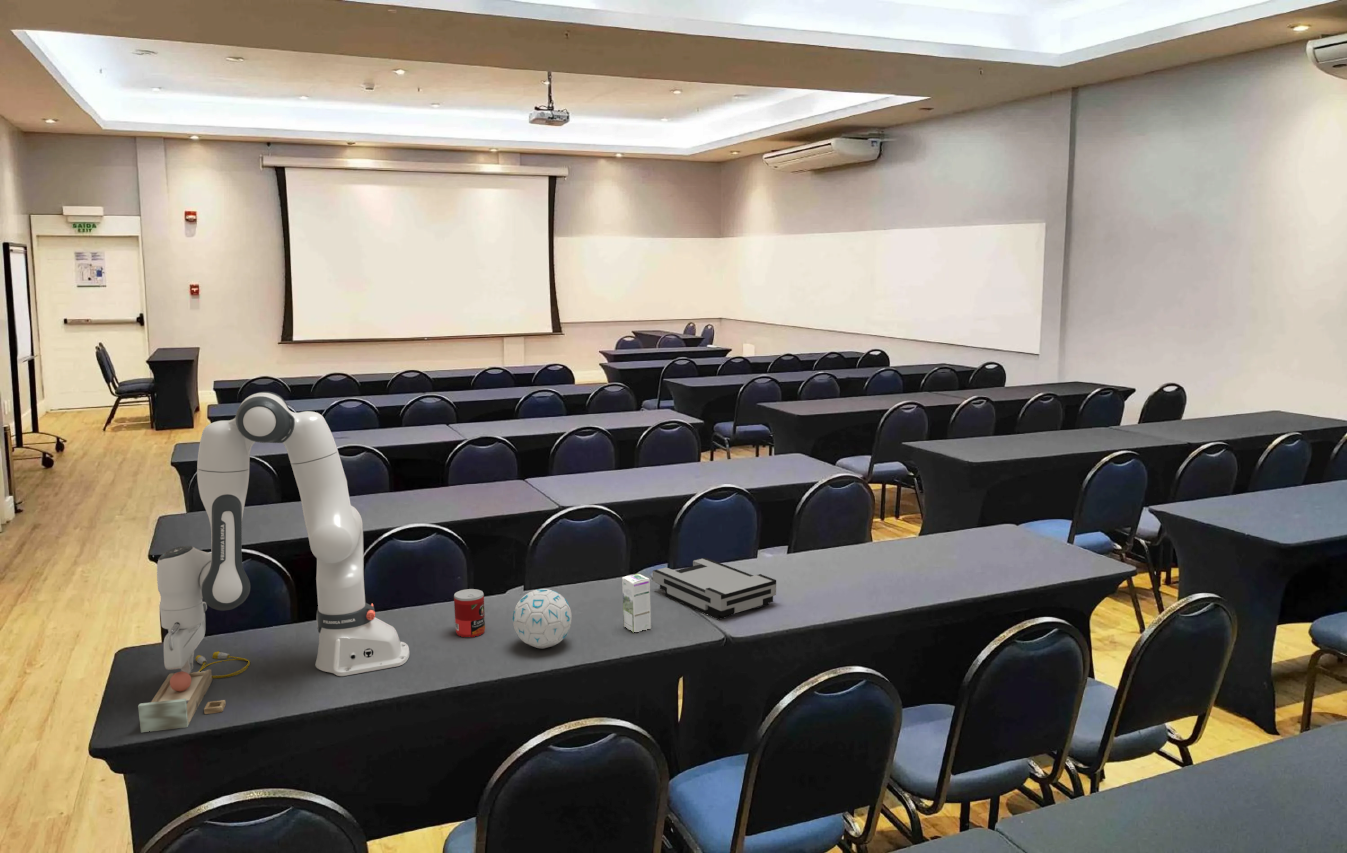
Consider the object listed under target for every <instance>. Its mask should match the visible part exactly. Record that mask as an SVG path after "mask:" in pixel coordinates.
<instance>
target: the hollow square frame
mask: <svg viewBox="0 0 1347 853" xmlns="http://www.w3.org/2000/svg"><path fill="white" fill-rule="evenodd" d="M226 705H227V703H226V699H221V700H212V701H207V703H206V704H205V706H204V708H203V711H204V715H209V714H218V713H223V711H224V710H225V707H226Z"/></svg>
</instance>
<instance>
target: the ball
mask: <svg viewBox="0 0 1347 853" xmlns="http://www.w3.org/2000/svg"><path fill="white" fill-rule="evenodd" d="M190 684H191V676H190V675H189V674H188V673H186V672H182V671H178V672H175V673H174V675H173V676H172V677H171V679H170V686H171V688H172V689H173V690H175V691H184V690H186V689H187V688H188V687H189V686H190Z"/></svg>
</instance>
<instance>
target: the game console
mask: <svg viewBox="0 0 1347 853" xmlns="http://www.w3.org/2000/svg"><path fill="white" fill-rule="evenodd" d="M652 582H654V583H656V584H657V585H659V589H660V590H661V591H664V596H665V597H666V598H669V599H671V600H674V601H676V602H678V603H680V604H681V605H685V606H687V607H689V608H692V609H693V610H696V611H697V612H700V613H702V612H703V613H702V614H704V613H705V614H704V615H706V614H708V615H707V616H709V617H711V616H712V617H711V618H713V617H714V618H713V619H715V618H717V619H716V620H718V619H719V620H721V619H720V618H722V619H725V618H724V617H726V618H729V617H731V616H734V615H735V614H736V613H740V612H743V611H747V610H750V609H752V610H755V609H758V608H761V607H765V606H768V605H770V604H769V603H773V602H774V596H777V579H775V578H771V576H770V577H769V576H766V575H764V574H761V573H760V574H755V575H753V574H751V573H747V572H746V571H742V570H740V569H737V568H734V567H732V566H729V565H727V564H723V563H722V562H718V561H715V560H713V559H711V558H707V557H703V558H698V559H694V560H693V561H692V566H688V567H684V568H680V569H677V570H674V569H671V568H669V567H663V568H658V569H654V570H652Z"/></svg>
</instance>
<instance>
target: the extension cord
mask: <svg viewBox="0 0 1347 853" xmlns="http://www.w3.org/2000/svg"><path fill="white" fill-rule="evenodd" d="M211 658H212V659H215V660H216V659H217V660H218V659H219V661H213V662H211V663H208V661H207V659H206V657H205V656H203V655H201V654H198V655H196V656H195V662H196V661H197V664H199V665H201V667H200V669H199V670H198V672H200V671H203V670H204V669H205V668H207V667H208V666H210V665H214V664H218V663H223V662H222V661H224V662H227V661H228V662H229V661H244V662H245V661H246V662H247V661H248V662H247V664H246V665H245V666H244V667H242V668H240V669H239V670H237V671H233V672H231V673H228V674H222V675H212V679H224V678H229V677H234V676H237V675H240V674H242V673H244V672H245V671H246V670H247V669H248V668H249V667H248V666H250V664H251V663H250V660H249V659H247V658H244V657H237V656H232V655H230V653H226V652H220V651H219V650H217V651H214V652H213V654H212V657H211ZM228 658H229V659H228Z"/></svg>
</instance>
